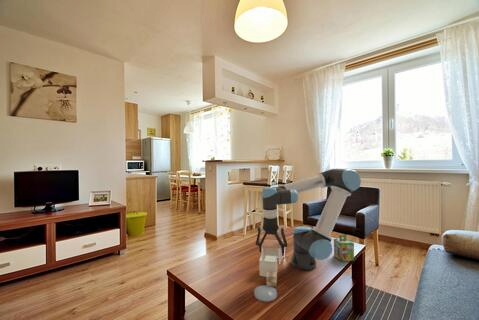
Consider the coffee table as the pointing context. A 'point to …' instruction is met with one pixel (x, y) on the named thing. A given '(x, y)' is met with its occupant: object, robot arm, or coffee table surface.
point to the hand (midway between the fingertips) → (272, 258)
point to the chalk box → (343, 249)
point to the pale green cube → (267, 265)
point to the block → (271, 278)
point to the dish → (265, 293)
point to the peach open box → (270, 249)
